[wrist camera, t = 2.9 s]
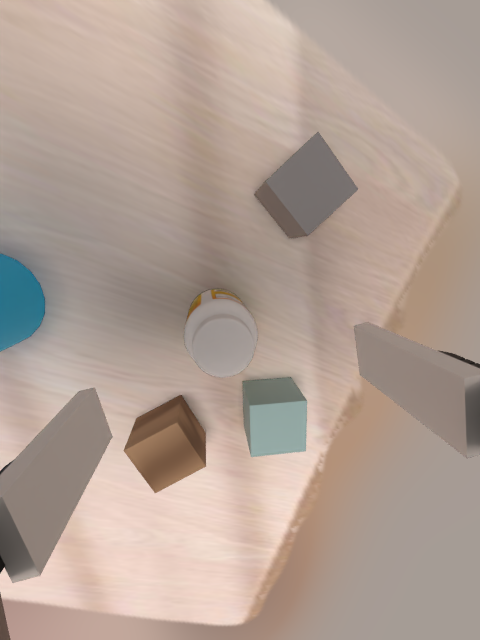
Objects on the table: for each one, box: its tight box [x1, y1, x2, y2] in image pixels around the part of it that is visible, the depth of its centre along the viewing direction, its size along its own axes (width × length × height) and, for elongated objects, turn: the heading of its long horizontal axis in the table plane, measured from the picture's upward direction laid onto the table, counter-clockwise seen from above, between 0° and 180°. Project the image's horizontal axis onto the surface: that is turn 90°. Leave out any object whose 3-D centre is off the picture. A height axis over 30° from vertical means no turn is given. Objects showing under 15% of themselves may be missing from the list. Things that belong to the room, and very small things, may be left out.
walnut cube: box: [124, 395, 206, 493], centre depth 28 cm, size 5×5×5 cm
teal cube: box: [242, 377, 307, 457], centre depth 28 cm, size 5×5×5 cm
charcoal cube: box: [254, 132, 358, 238], centre depth 24 cm, size 5×5×5 cm
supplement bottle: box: [184, 289, 258, 378], centre depth 23 cm, size 5×5×10 cm
